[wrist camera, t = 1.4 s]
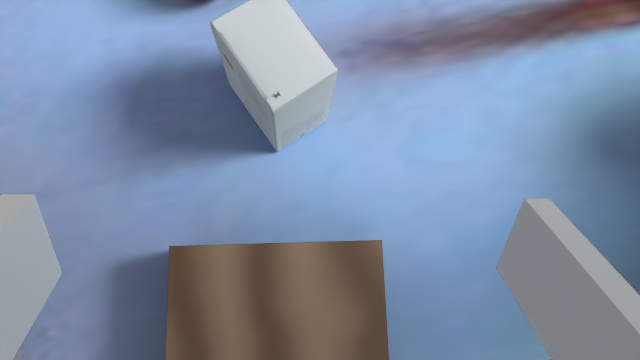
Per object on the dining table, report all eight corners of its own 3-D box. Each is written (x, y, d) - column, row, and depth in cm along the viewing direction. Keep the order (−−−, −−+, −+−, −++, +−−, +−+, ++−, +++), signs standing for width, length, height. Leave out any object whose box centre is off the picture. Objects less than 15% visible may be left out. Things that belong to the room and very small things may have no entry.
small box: (327, 122, 39) (342, 71, 29) (276, 154, 38) (273, 113, 28) (278, 54, 40) (276, -18, 30) (227, 84, 39) (208, 20, 29)
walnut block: (369, 243, 38) (381, 240, 33) (379, 441, 35) (395, 470, 30) (184, 248, 36) (169, 246, 32) (179, 454, 33) (161, 487, 29)
